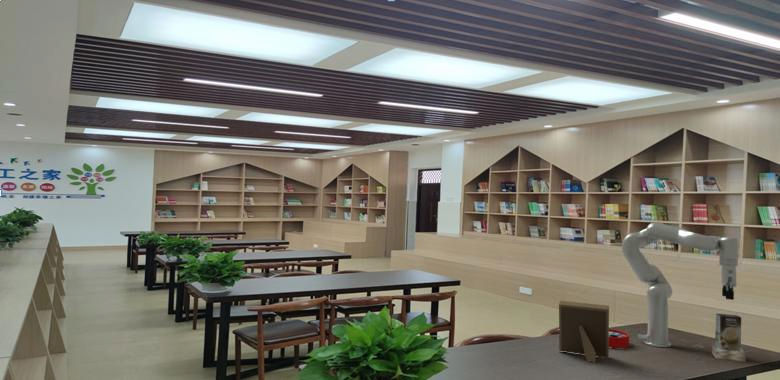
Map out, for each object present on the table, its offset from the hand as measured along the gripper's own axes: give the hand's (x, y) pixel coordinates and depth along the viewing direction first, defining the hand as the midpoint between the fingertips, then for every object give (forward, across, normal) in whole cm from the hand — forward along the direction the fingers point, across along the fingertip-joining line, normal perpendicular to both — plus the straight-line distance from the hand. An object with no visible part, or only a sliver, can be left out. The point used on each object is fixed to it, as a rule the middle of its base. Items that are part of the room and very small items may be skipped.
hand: (727, 297), depth 255 cm
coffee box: (+25, 0, 0) cm, 25 cm away
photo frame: (+29, -37, +63) cm, 79 cm away
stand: (+28, 0, -1) cm, 28 cm away
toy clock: (+29, -3, +53) cm, 61 cm away
